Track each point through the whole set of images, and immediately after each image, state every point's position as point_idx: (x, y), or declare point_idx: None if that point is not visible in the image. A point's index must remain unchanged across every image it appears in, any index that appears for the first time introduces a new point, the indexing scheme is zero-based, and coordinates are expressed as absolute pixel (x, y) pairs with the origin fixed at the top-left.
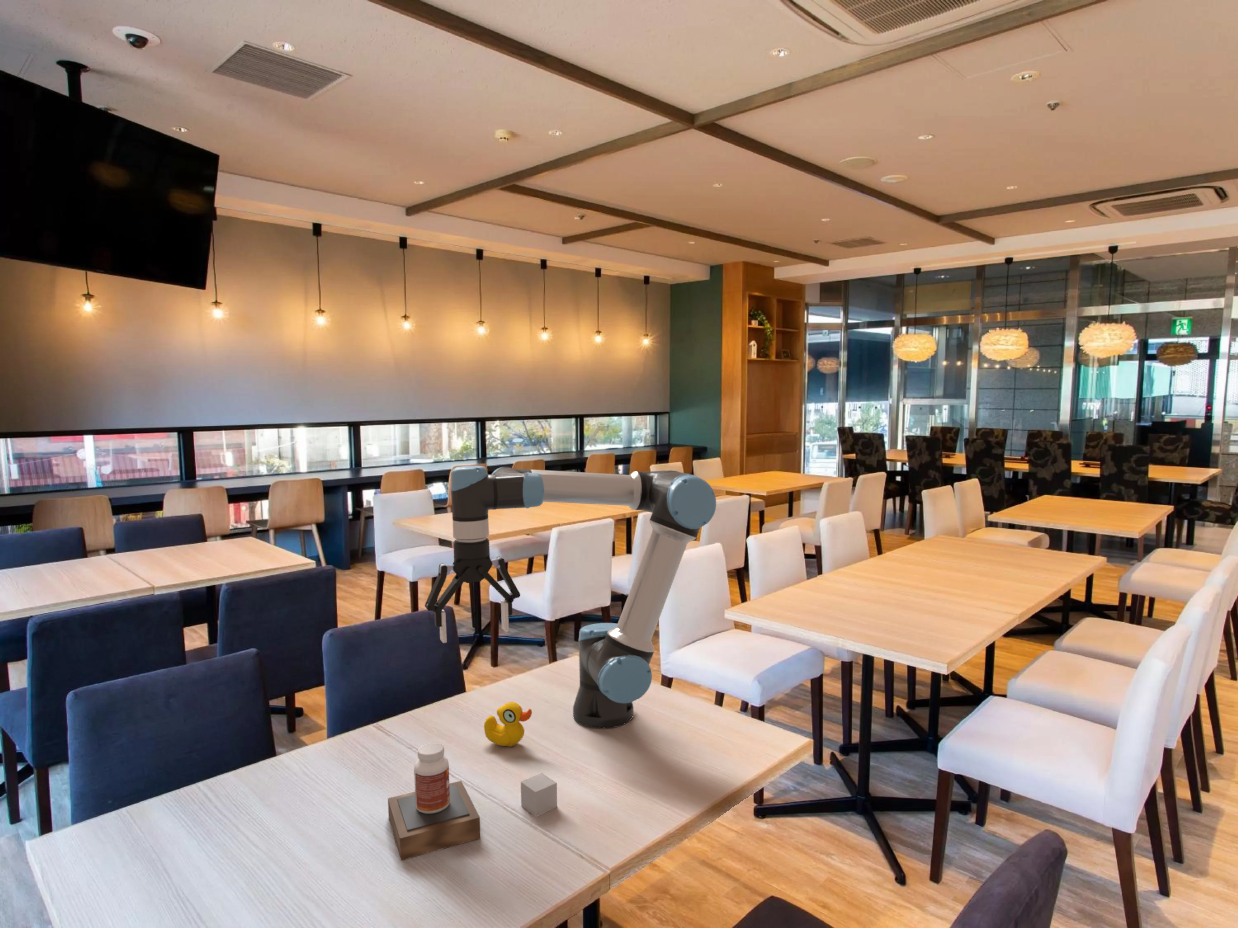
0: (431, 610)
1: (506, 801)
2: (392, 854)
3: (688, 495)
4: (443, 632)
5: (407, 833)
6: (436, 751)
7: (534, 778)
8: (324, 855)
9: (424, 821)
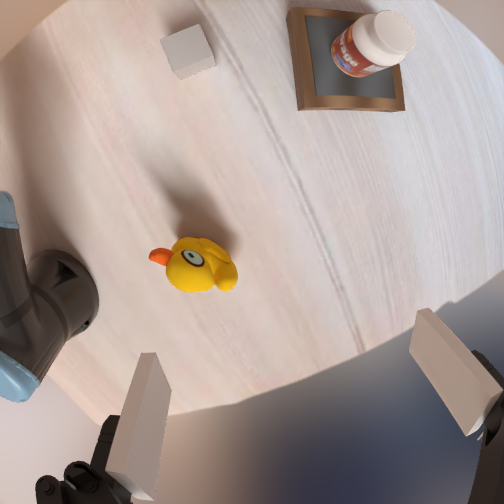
0: None
1: (235, 82)
2: None
3: None
4: (448, 332)
5: None
6: (386, 14)
7: (189, 58)
8: (444, 80)
9: None
